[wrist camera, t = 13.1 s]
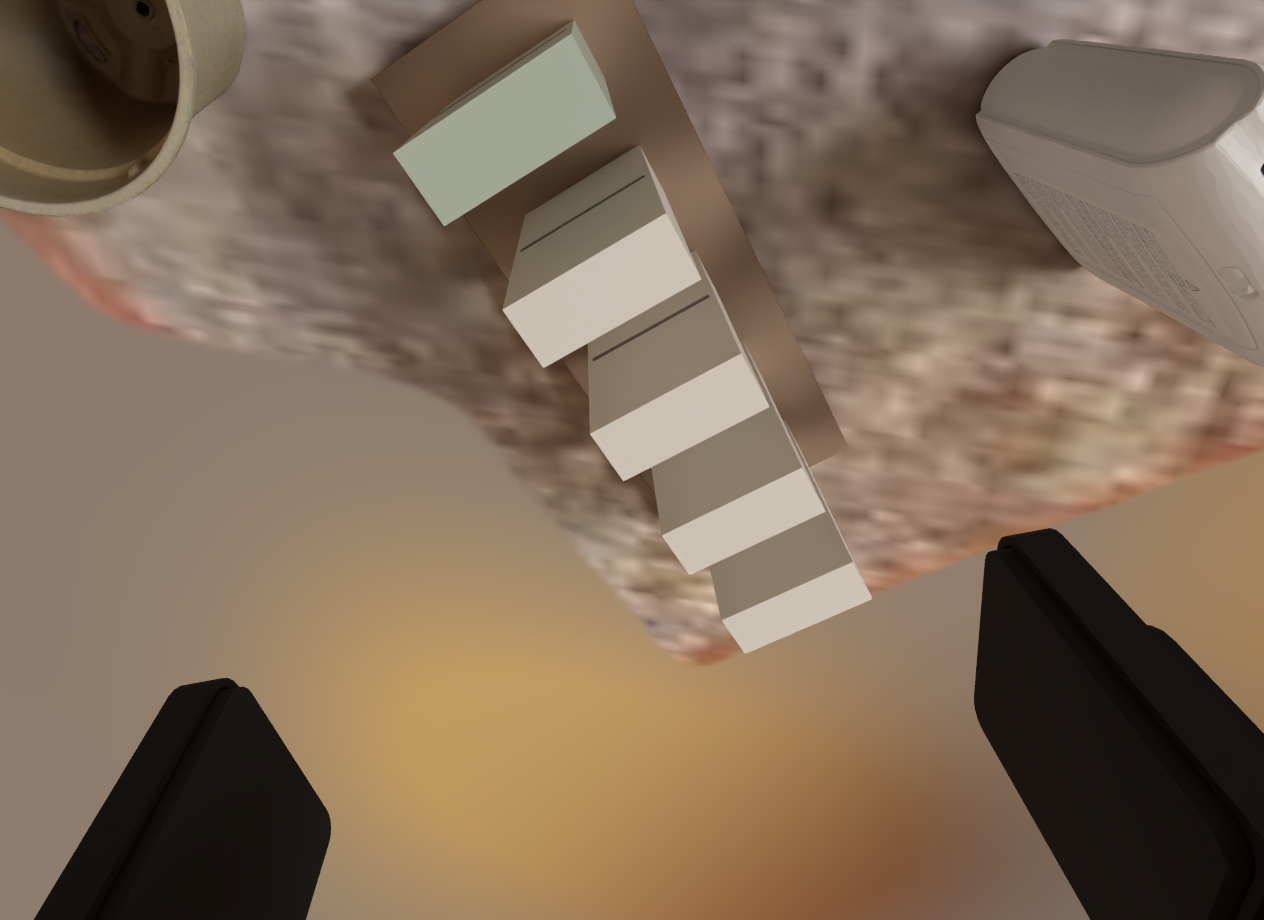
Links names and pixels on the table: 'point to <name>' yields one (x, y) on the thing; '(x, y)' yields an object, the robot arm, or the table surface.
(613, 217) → the domino
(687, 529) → the domino
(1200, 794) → the robot arm
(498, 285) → the table surface
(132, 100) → the flower pot
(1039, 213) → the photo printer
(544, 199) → the domino board
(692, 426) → the domino
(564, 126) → the pale green domino
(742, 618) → the domino
